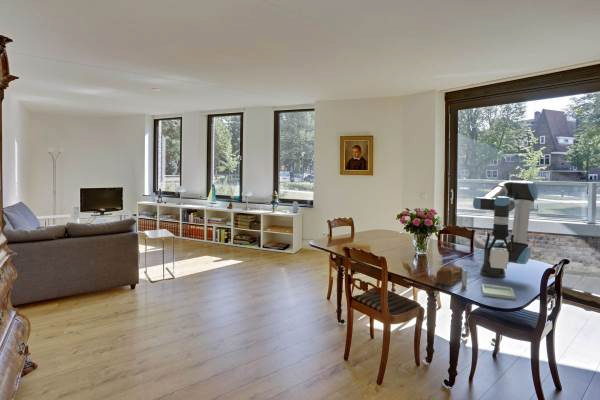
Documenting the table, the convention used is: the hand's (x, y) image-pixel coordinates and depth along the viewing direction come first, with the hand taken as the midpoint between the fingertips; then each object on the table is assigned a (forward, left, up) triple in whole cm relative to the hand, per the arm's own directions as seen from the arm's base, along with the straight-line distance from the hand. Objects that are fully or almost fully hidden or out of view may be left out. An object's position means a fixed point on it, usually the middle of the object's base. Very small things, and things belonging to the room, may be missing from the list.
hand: (498, 262), depth 219 cm
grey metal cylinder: (0, -18, -18) cm, 25 cm away
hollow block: (0, 0, -2) cm, 2 cm away
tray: (0, 0, -18) cm, 18 cm away
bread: (-12, -26, -19) cm, 34 cm away
